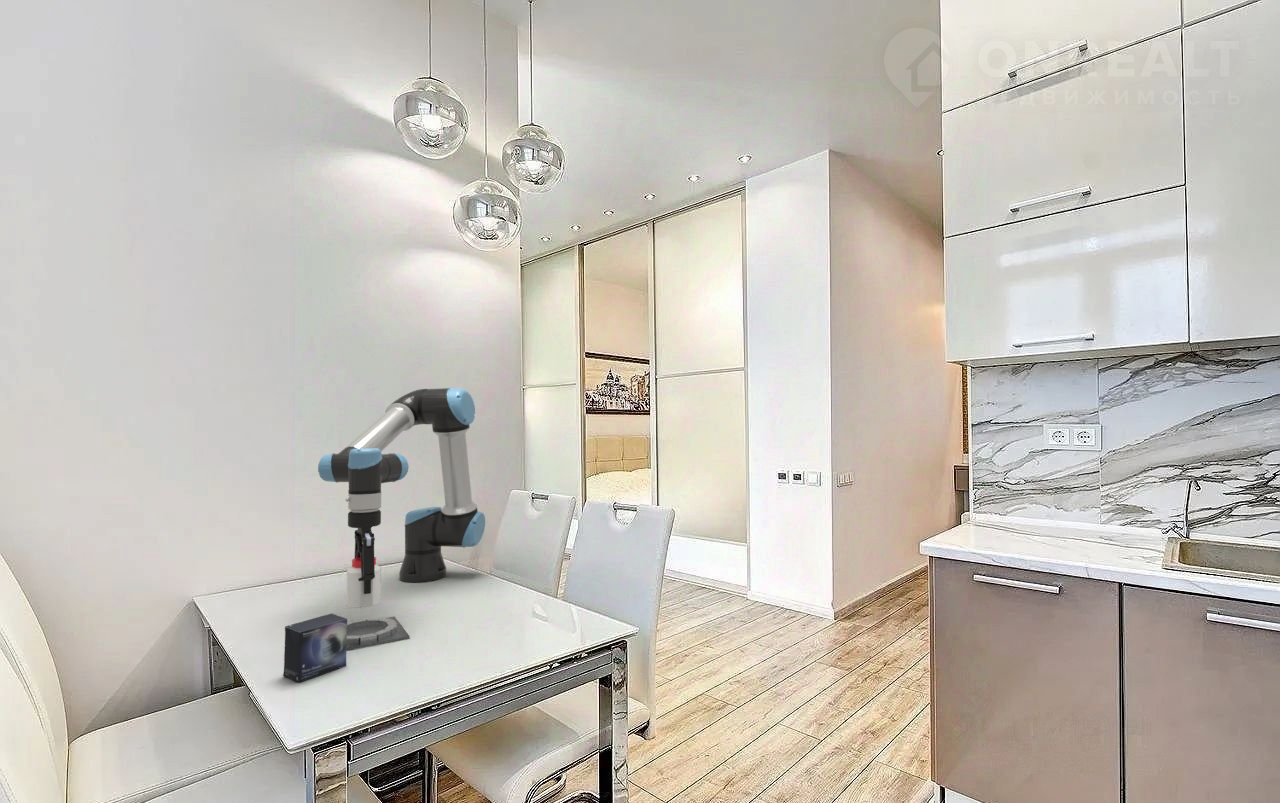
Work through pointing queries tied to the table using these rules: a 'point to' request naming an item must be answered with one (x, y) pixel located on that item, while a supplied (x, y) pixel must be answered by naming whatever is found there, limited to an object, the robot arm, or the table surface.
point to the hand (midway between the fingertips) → (363, 602)
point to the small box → (315, 647)
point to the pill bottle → (354, 584)
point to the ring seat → (374, 632)
